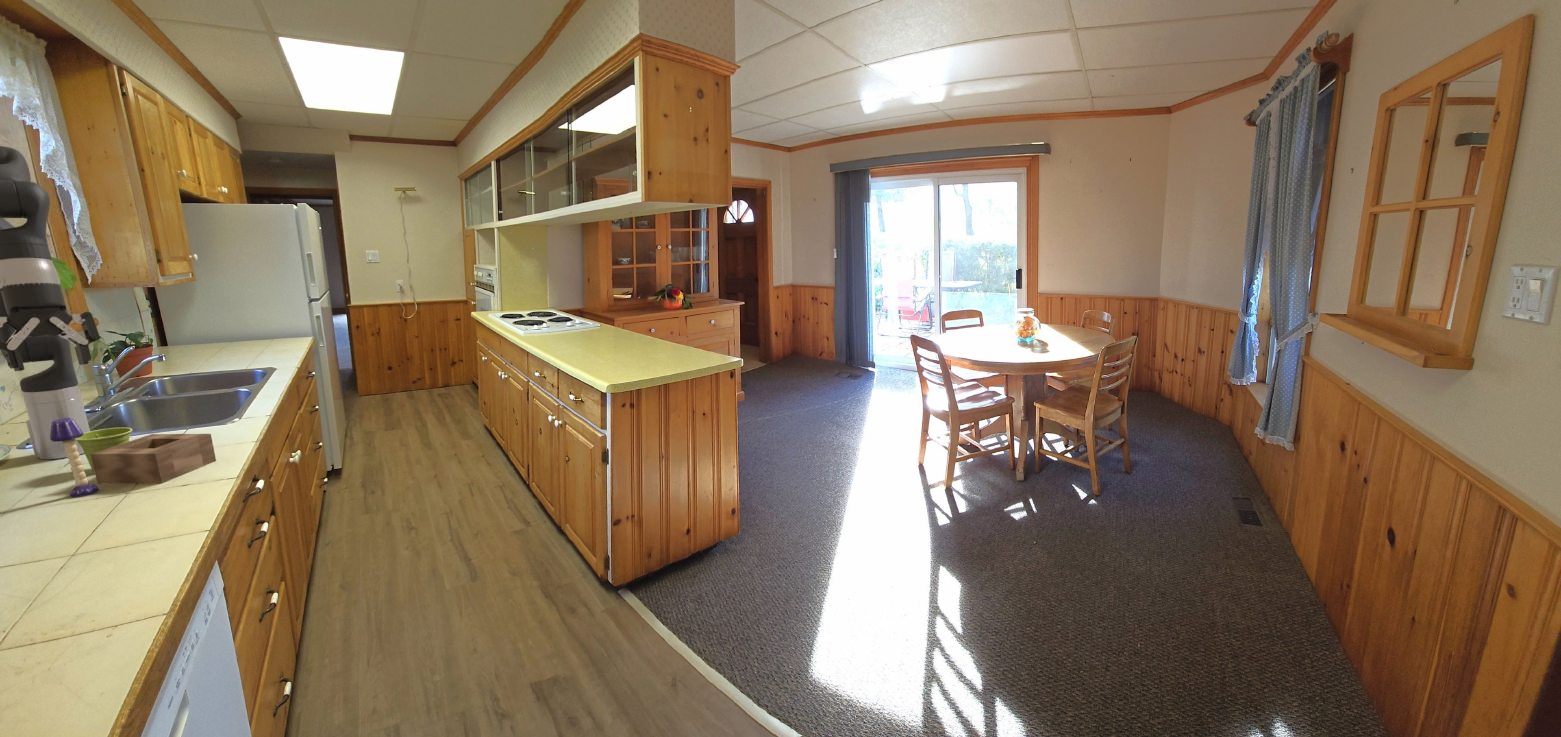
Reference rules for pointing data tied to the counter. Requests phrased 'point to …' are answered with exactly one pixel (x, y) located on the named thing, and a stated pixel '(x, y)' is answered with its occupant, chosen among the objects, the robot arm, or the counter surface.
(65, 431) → the toy lamp
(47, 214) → the robot arm
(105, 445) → the plant pot
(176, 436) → the socket block
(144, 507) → the counter surface
